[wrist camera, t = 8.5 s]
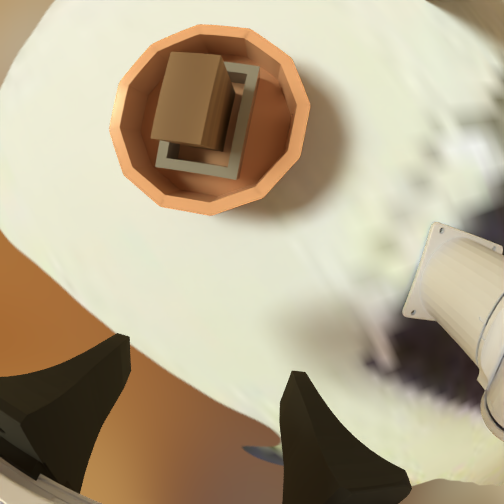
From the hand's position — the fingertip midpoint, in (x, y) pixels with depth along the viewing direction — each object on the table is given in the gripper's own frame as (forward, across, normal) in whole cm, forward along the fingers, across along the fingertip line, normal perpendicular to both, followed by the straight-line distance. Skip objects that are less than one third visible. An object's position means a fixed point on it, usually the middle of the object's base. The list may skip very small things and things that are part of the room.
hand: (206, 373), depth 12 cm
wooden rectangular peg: (+9, +3, -11) cm, 15 cm away
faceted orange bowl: (+10, +3, -11) cm, 15 cm away
